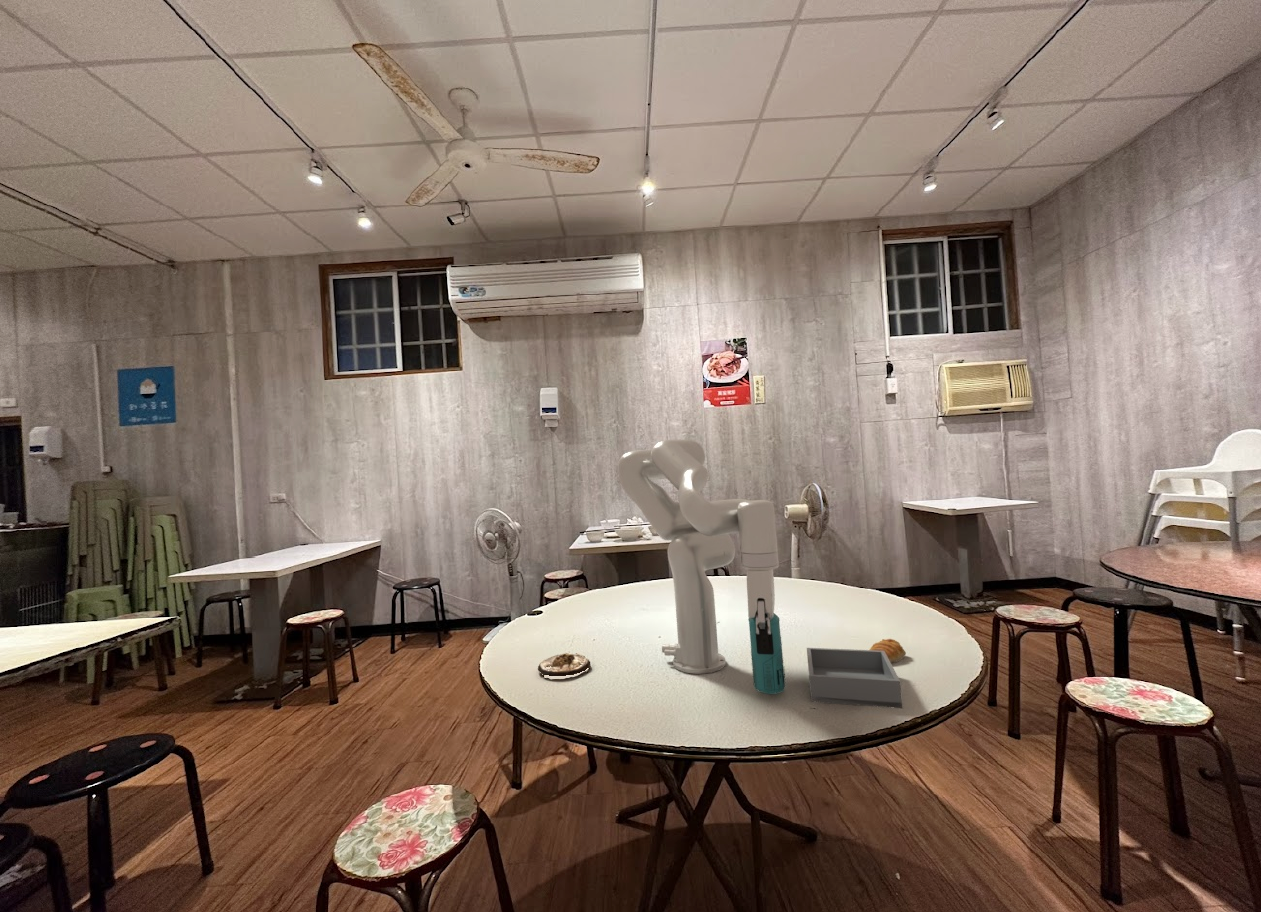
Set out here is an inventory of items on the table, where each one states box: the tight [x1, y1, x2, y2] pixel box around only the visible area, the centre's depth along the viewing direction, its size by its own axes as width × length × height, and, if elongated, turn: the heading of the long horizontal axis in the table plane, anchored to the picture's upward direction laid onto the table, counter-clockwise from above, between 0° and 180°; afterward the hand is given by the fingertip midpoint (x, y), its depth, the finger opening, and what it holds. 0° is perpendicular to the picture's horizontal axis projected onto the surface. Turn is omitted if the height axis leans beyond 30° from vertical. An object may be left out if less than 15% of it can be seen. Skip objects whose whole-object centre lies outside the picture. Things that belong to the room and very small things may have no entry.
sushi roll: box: [537, 651, 591, 676], centre depth 122 cm, size 15×15×4 cm
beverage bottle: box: [748, 612, 787, 695], centre depth 102 cm, size 6×7×20 cm
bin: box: [806, 647, 903, 709], centre depth 102 cm, size 16×16×5 cm
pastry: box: [869, 638, 906, 664], centre depth 116 cm, size 9×7×4 cm
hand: (766, 646), depth 102 cm, fingers closed on beverage bottle, 6 cm apart
